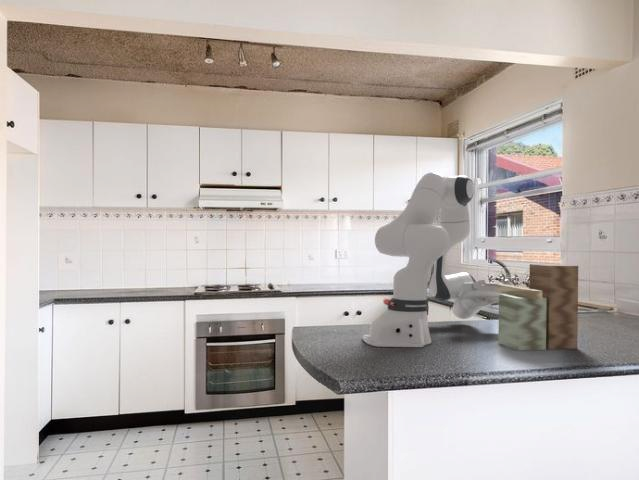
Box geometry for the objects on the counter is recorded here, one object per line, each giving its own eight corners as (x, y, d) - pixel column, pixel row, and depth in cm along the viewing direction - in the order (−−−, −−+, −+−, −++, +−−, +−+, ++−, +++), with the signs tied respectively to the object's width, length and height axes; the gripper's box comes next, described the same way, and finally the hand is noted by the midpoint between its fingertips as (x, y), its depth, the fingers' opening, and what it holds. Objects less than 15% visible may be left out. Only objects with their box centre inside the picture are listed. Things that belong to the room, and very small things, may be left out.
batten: (534, 299, 137) (534, 290, 137) (494, 291, 159) (494, 283, 159) (542, 299, 137) (542, 290, 137) (501, 291, 159) (501, 283, 159)
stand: (516, 350, 139) (517, 265, 139) (498, 343, 149) (499, 264, 149) (577, 348, 143) (578, 266, 143) (555, 341, 153) (556, 264, 153)
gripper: (450, 289, 172) (466, 273, 160) (500, 288, 175) (518, 273, 164) (454, 304, 169) (470, 289, 157) (504, 304, 172) (524, 289, 161)
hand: (495, 281), depth 160 cm, fingers open, 8 cm apart
